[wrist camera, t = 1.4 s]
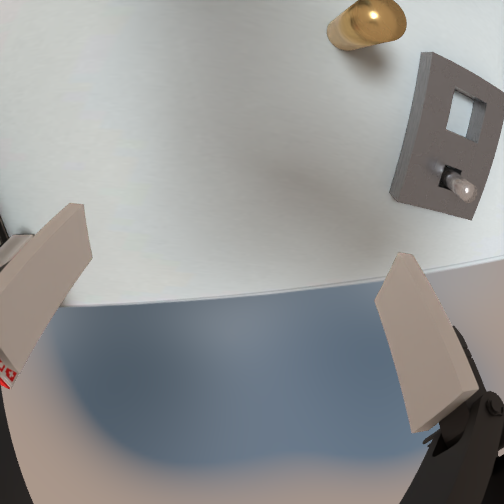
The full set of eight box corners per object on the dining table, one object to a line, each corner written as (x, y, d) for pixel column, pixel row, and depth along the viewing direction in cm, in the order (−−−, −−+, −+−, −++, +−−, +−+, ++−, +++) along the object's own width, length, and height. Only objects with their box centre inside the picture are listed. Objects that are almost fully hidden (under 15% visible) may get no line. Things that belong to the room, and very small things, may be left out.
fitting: (329, 13, 24) (358, -13, 14) (365, 23, 24) (408, 5, 14) (324, 45, 26) (352, 31, 16) (361, 54, 26) (403, 48, 16)
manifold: (421, 52, 25) (455, 51, 18) (495, 92, 25) (531, 102, 18) (389, 192, 36) (412, 220, 29) (461, 211, 36) (489, 238, 29)
